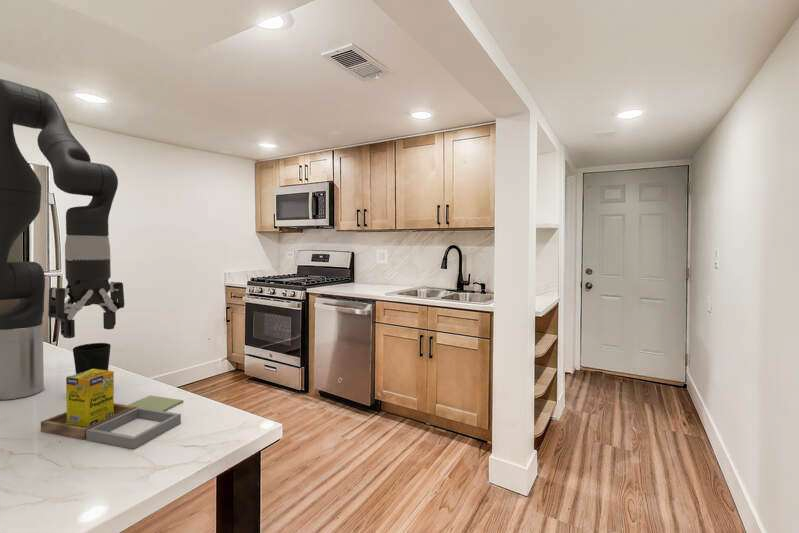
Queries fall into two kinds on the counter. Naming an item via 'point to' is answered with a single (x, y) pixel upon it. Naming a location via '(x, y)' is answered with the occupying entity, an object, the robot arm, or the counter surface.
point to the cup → (91, 357)
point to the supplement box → (89, 397)
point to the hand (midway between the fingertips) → (89, 333)
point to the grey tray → (132, 442)
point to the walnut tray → (58, 426)
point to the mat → (156, 403)
